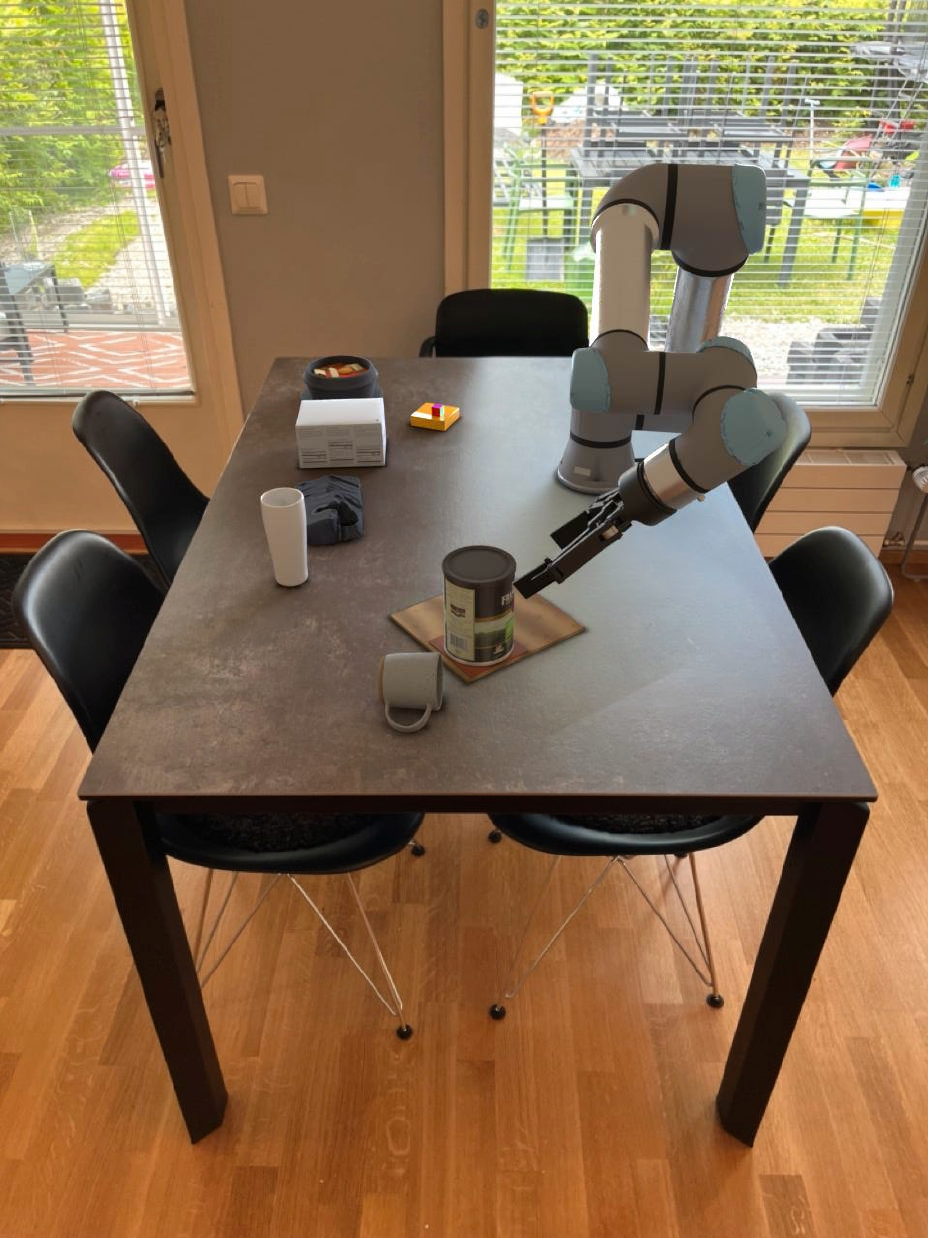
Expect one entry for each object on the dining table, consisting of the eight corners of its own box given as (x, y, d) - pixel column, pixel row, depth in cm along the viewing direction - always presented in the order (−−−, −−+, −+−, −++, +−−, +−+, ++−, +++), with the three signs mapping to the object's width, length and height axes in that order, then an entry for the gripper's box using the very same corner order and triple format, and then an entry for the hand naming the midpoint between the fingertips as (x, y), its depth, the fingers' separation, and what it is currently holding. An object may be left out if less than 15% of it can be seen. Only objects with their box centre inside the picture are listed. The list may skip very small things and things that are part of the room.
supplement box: (386, 439, 203) (384, 396, 197) (385, 467, 192) (382, 422, 187) (305, 441, 202) (300, 398, 197) (299, 469, 191) (294, 424, 186)
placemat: (503, 573, 159) (504, 569, 159) (585, 630, 146) (585, 625, 145) (390, 618, 149) (390, 614, 148) (467, 684, 135) (467, 679, 135)
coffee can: (518, 629, 145) (521, 548, 137) (507, 671, 136) (509, 587, 128) (451, 621, 146) (450, 540, 138) (436, 662, 138) (434, 579, 130)
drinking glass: (320, 572, 160) (311, 490, 151) (301, 593, 155) (291, 510, 146) (283, 565, 162) (272, 484, 153) (263, 586, 156) (251, 503, 148)
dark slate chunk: (372, 486, 185) (370, 464, 182) (361, 545, 167) (359, 521, 164) (292, 486, 185) (289, 464, 182) (272, 545, 167) (269, 521, 164)
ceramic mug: (386, 683, 136) (383, 639, 131) (444, 685, 135) (443, 641, 131) (374, 734, 127) (371, 689, 123) (437, 737, 126) (435, 692, 122)
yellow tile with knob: (410, 425, 209) (410, 406, 206) (426, 411, 215) (425, 393, 212) (444, 431, 206) (444, 412, 204) (459, 417, 212) (459, 398, 210)
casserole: (381, 423, 210) (379, 386, 205) (295, 425, 209) (291, 388, 204) (385, 380, 230) (383, 346, 225) (306, 382, 230) (303, 347, 225)
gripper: (653, 557, 107) (522, 635, 121) (704, 466, 126) (586, 542, 139) (610, 506, 106) (483, 590, 120) (669, 421, 124) (553, 503, 138)
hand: (538, 565), depth 130 cm, fingers open, 13 cm apart
